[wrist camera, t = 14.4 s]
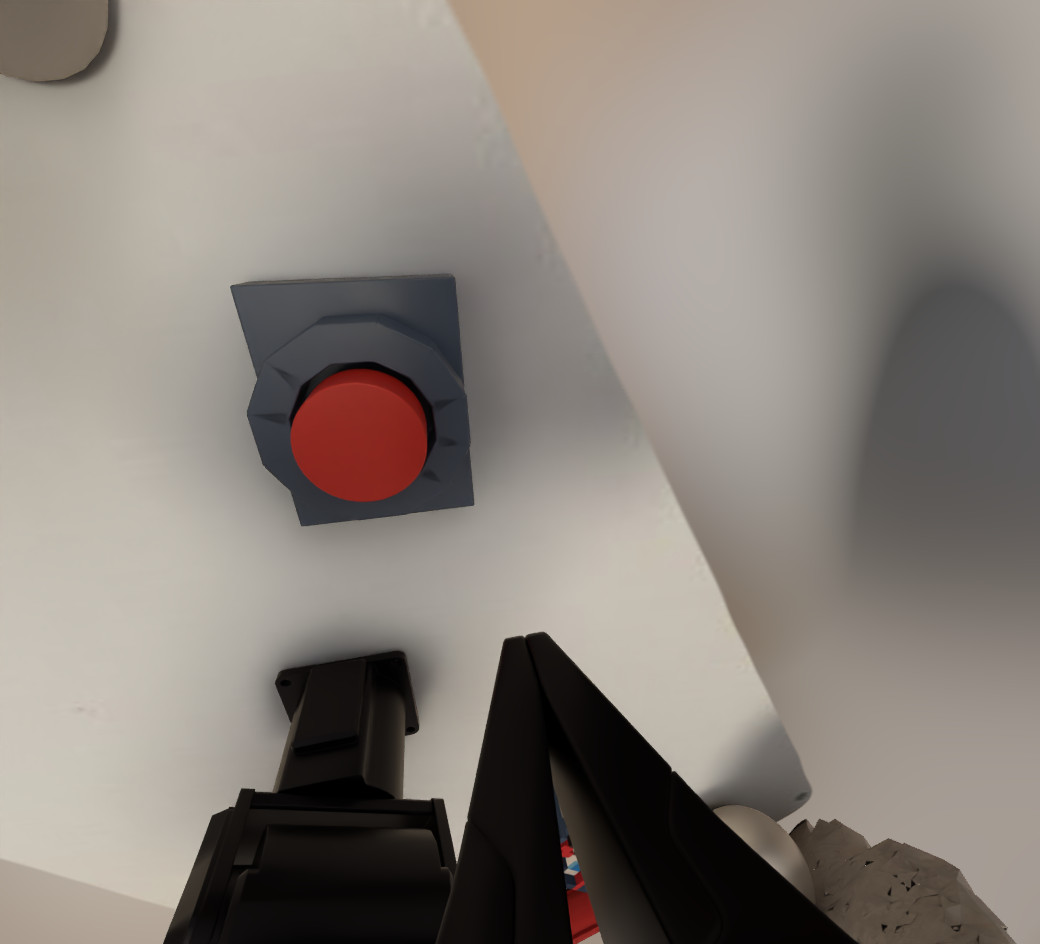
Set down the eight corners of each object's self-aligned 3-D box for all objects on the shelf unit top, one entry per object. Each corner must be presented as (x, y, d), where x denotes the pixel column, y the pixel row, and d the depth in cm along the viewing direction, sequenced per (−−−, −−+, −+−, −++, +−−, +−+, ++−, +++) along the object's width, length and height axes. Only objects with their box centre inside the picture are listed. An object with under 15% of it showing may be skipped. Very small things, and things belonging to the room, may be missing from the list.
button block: (470, 487, 21) (479, 529, 18) (309, 505, 20) (289, 554, 16) (452, 273, 17) (458, 279, 13) (247, 281, 15) (204, 290, 12)
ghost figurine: (721, 770, 36) (817, 937, 28) (780, 794, 40) (880, 947, 32) (644, 831, 38) (709, 1005, 30) (707, 849, 42) (781, 1006, 34)
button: (433, 472, 17) (434, 494, 15) (318, 484, 16) (307, 510, 14) (418, 363, 15) (418, 377, 13) (289, 373, 14) (273, 388, 13)
